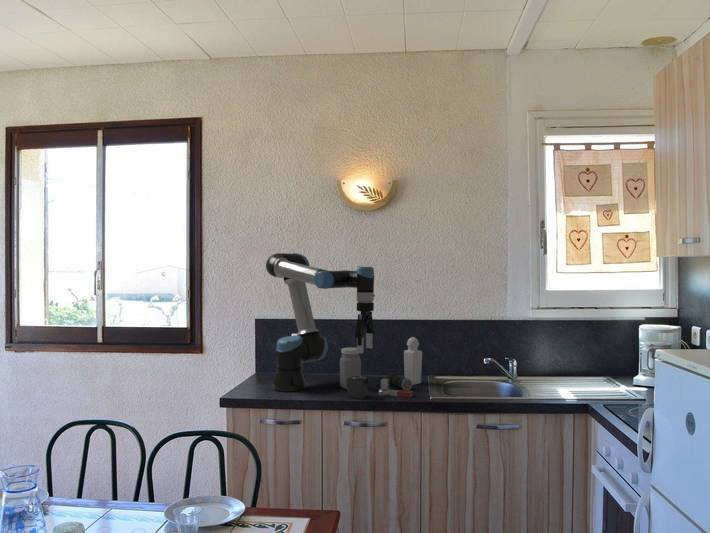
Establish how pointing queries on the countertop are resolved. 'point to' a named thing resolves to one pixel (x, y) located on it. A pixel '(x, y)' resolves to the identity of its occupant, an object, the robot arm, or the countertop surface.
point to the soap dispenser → (413, 361)
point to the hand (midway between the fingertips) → (364, 350)
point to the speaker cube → (357, 387)
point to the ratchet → (389, 392)
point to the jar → (349, 365)
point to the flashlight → (400, 381)
